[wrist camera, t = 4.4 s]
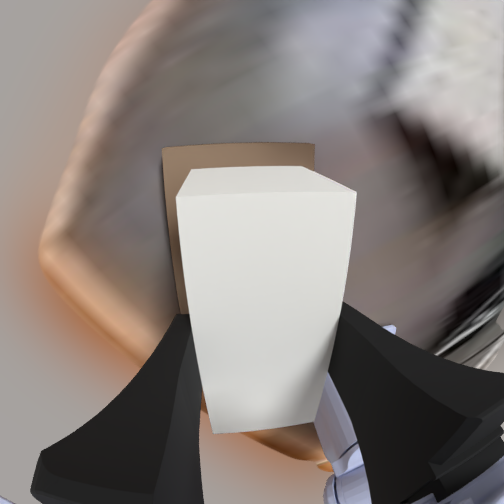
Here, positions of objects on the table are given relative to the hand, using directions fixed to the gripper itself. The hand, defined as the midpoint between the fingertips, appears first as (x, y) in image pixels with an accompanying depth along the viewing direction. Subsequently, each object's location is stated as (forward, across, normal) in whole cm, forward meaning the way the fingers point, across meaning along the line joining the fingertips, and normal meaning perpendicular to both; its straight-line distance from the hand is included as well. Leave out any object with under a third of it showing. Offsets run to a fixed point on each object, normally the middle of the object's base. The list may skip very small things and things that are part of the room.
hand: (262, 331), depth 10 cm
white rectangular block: (+4, 0, 0) cm, 4 cm away
